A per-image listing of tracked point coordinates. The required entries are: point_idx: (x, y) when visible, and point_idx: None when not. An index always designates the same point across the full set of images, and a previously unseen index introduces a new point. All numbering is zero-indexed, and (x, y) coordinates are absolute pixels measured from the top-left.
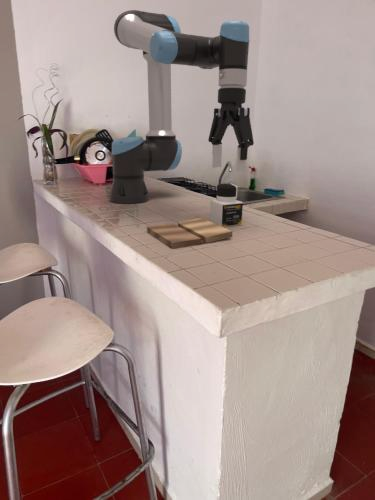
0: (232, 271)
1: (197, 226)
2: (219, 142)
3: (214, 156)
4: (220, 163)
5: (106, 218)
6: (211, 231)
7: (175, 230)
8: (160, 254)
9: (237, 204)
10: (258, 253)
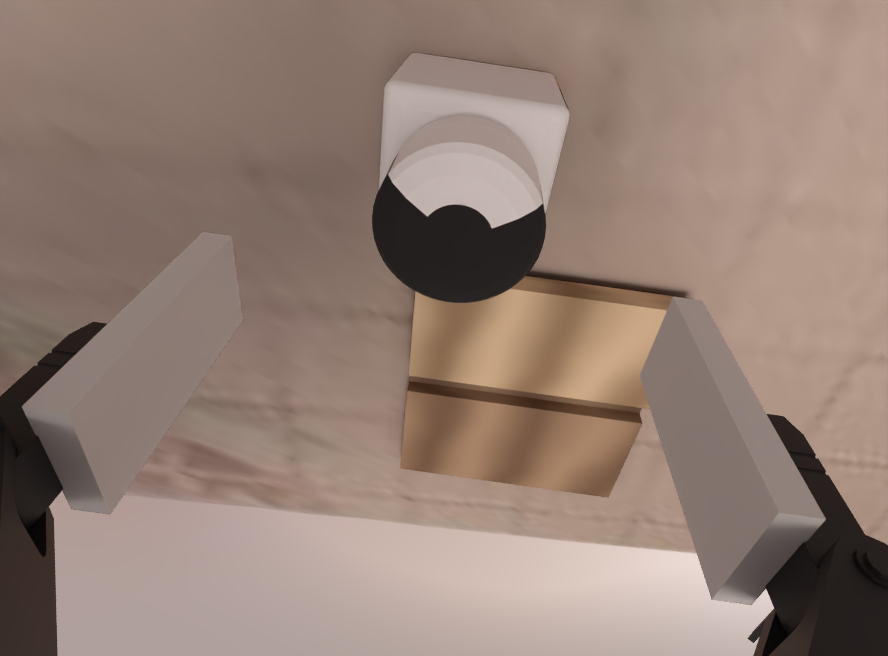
0: (873, 473)
1: (518, 359)
2: (12, 464)
3: (190, 392)
4: (216, 266)
5: (170, 465)
6: (618, 363)
7: (498, 430)
8: (618, 517)
9: (558, 159)
10: (880, 328)
